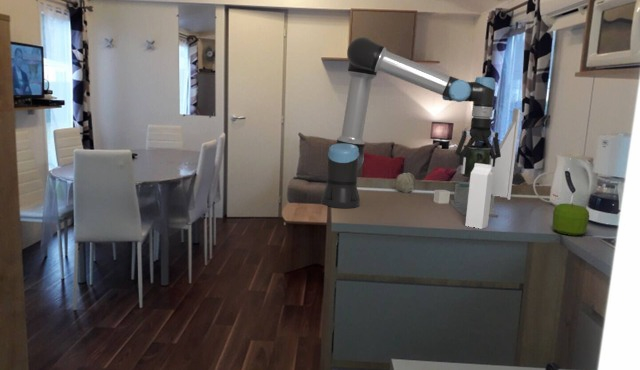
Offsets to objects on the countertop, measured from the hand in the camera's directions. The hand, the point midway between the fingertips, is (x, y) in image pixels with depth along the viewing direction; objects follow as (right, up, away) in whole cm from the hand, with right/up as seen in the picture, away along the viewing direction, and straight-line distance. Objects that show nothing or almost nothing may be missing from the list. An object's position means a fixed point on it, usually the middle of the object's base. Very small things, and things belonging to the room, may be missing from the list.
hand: (475, 174), depth 210 cm
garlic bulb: (-24, -8, +33) cm, 41 cm away
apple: (+24, -21, -28) cm, 42 cm away
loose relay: (-11, -12, +13) cm, 21 cm away
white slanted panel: (+19, -9, +38) cm, 43 cm away
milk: (-7, -19, -24) cm, 32 cm away
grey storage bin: (-1, -14, +3) cm, 14 cm away
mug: (0, -1, 0) cm, 1 cm away
